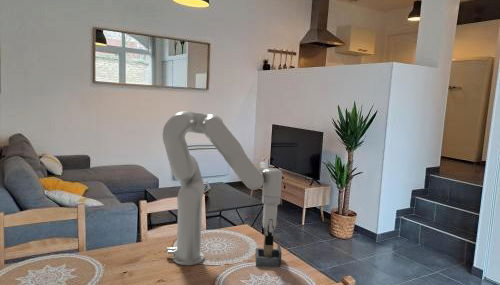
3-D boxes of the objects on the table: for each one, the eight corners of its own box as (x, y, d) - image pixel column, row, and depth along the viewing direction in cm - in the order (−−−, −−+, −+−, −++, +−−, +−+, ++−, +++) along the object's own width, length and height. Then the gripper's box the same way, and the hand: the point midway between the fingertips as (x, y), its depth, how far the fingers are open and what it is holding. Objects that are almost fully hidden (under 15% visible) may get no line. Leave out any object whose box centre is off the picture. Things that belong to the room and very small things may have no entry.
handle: (275, 259, 143) (278, 224, 141) (259, 258, 143) (262, 223, 142) (275, 254, 148) (277, 220, 146) (260, 253, 148) (262, 219, 147)
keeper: (255, 265, 142) (256, 251, 141) (255, 256, 150) (256, 242, 150) (280, 267, 142) (281, 252, 141) (278, 257, 151) (279, 243, 150)
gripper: (261, 193, 151) (258, 234, 153) (262, 204, 135) (260, 250, 137) (278, 194, 151) (276, 235, 153) (282, 205, 135) (279, 251, 137)
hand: (268, 242), depth 145 cm, fingers closed on handle, 3 cm apart
